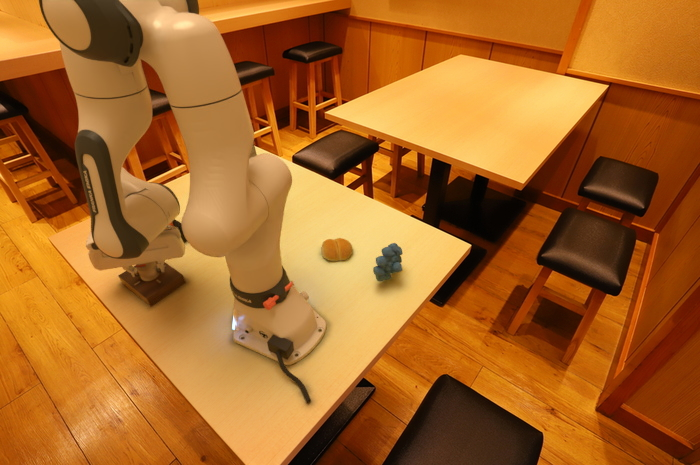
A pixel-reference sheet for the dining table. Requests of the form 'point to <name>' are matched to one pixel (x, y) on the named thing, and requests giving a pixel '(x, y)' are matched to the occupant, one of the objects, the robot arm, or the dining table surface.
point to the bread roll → (336, 249)
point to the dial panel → (153, 284)
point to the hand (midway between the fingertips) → (149, 272)
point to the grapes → (388, 262)
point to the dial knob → (147, 271)
